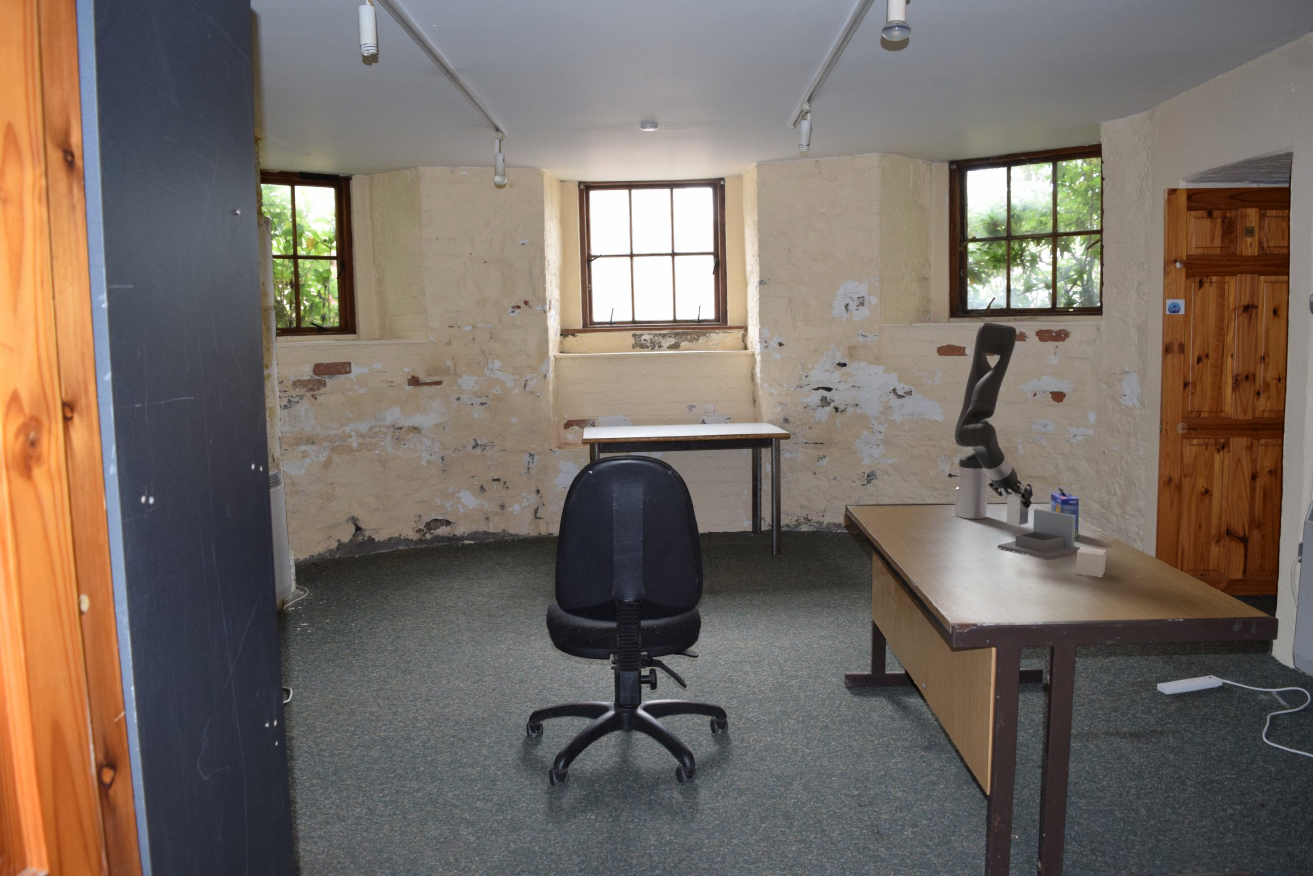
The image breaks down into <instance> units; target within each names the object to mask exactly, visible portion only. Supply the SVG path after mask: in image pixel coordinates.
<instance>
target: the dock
mask: <svg viewBox="0 0 1313 876" xmlns="http://www.w3.org/2000/svg"><path fill="white" fill-rule="evenodd" d="M1075 521H1076V516H1075V515H1069V514H1063V513H1057V512H1051V510H1045V509H1039V508H1037V509H1033V524H1032V525H1033V527H1032V531H1029V532H1025V533H1021V534H1016V535H1015V540H1014V541H1010V542H1006V543H1001V544H998V545H997V549H998V548H1001V549H1000V550H1002V549H1006V550H1005V551H1007V550H1010V551H1009V552H1012V551H1015V552H1014V553H1016V552H1019V553H1018V554H1021V553H1024V554H1023V555H1025V554H1029V555H1028V556H1030V555H1034V556H1033V557H1035V556H1038V557H1037V558H1039V557H1042V558H1041V559H1044V558H1045V560H1048V559H1050V560H1053V559H1057V558H1060V556H1061V557H1065V556H1068V555H1071V554H1075V553H1076V554H1077V551H1078V550H1079V549H1080V547H1081V546H1075V542H1076V541H1075V539H1076V538H1075ZM1064 555H1065V556H1064ZM1056 557H1057V558H1056Z"/></svg>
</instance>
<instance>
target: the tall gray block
mask: <svg viewBox="0 0 1313 876" xmlns="http://www.w3.org/2000/svg"><path fill="white" fill-rule="evenodd" d="M1022 497H1023V493H1022ZM1006 500H1007V502H1006V524H1011V525H1017V526H1022V525H1026V524H1029V508H1026V507H1025V505H1024V504H1023V502H1022V500H1021V499H1019V498H1018V497H1015V496H1014V495H1013V494H1012V493H1008V497H1007V499H1006Z"/></svg>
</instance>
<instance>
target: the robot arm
mask: <svg viewBox="0 0 1313 876" xmlns="http://www.w3.org/2000/svg"><path fill="white" fill-rule="evenodd" d="M1016 341H1017V328H1015V327H1014V326H1012V325H1006V324H1000V323H995V322H982V323H981V325H979V327H978V330H977V333H976V336H975V343H974V350H973V357H972V363H971V367H970V371H969V375H968V378H967V383H966V387H965V393H964V396H963V402H962V407H961V411H960V413H959V417H958V419H957V422H956V426H955V431H954V440H955V443H956V444H957V445H958V446H959V447H963V448H964V447H968V448H971V447H972V448H975V450H974V451H973V452H972V453H969V454H968V455H963V456H962V457H960V458H959V460H958V487H956V488H955V507H954V508H955V509H954V515H955V516H957V517H960V518H962V519H970V520H971V519H972V520H979V519H986V518H987V508H988V507H987V506H988V505H987V504H988V487H989V488H990V489H992V491H993V492H994V493H995V494H996V495H997V496H999V497H1003V498H1005V499H1006V500H1007V497H1008V493H1012V494H1013V495H1014V496H1015V497H1018V498H1019V499H1021V500H1022V502H1023V504H1024V505H1025V507H1026V508H1028V509H1029V508H1030V506H1031V505H1032V500H1031V499H1032V497H1033V495H1034V494H1033V489H1032V485H1031V484H1030V483H1027V484H1026V485H1025V484H1023V483H1022V481H1020V480H1019V478H1018V473H1017V470H1015V468H1014V467H1013V464H1012V463H1011V461H1010V460H1009V459H1008V457H1007V456H1006V455H1005V453H1004V452H1003V451H1002V449H1001V448H1000V445H999V442H998V441H999V440H998V437H997V432H996V428H995V427H994V425H992V424H991V423H990V422H989V420H987V419H990V418H992V417H993V416H994V413H995V410H996V406H997V401H998V397H999V393H1000V390H1001V386H1002V383H1003V381H1004V378H1005V376H1006V373H1007V369H1008V368H1009V364H1010V361H1011V358H1012V355H1013V352H1014V349H1015V345H1016ZM987 354H988V355H994V356H999V358H998V360H997V362H996V364H995V365H994V366H993V367H992V366H991V364H990V363H989V360H988V358H987ZM988 479H989V481H988ZM1022 493H1023V497H1022Z"/></svg>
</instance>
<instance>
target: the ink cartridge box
mask: <svg viewBox="0 0 1313 876" xmlns="http://www.w3.org/2000/svg"><path fill="white" fill-rule="evenodd" d="M1057 489H1058V491H1059V492H1051V493H1050V511H1051V512H1057V513H1063V514H1069V515H1075V516H1076V521H1075V537H1077V538H1079V532H1080V531H1079V522H1080V521H1079V519H1080V518H1079V516H1080V515H1079V514H1080V513H1079V512H1080V511H1079V510H1080V507H1079V506H1080V505H1079V504H1080V500H1079V498H1078V497H1077V496H1074V495H1072V494H1071V493H1068V492H1065V491H1064V489H1063V488H1061V487H1057Z"/></svg>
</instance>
